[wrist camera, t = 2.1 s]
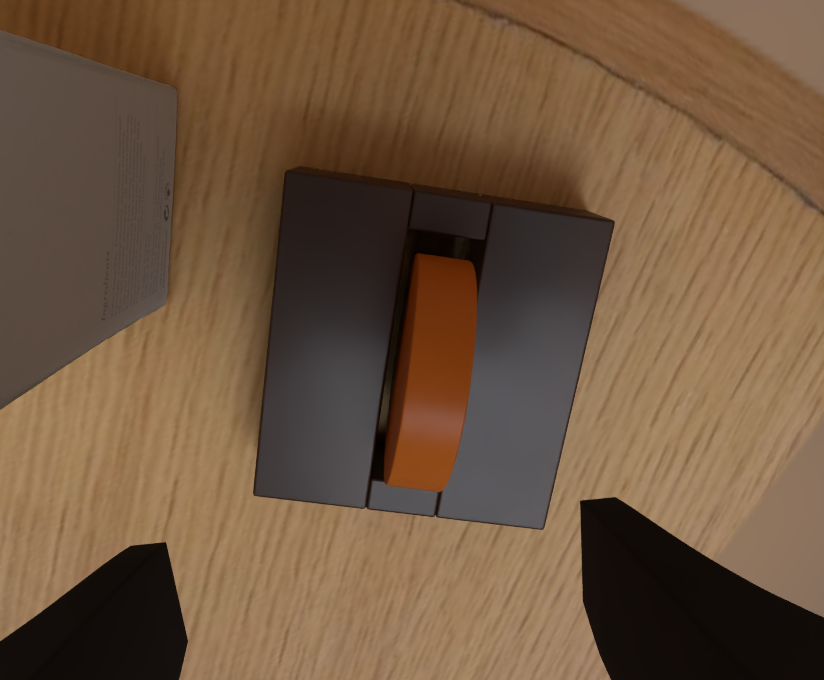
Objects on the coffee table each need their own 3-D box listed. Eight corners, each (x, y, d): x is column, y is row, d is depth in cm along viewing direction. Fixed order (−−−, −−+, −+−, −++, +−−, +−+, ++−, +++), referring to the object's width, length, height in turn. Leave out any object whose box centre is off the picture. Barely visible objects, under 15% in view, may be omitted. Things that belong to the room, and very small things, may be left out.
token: (460, 244, 20) (490, 287, 14) (428, 433, 22) (443, 539, 16) (413, 237, 20) (423, 278, 14) (384, 427, 22) (382, 532, 16)
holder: (588, 210, 20) (616, 220, 18) (527, 488, 22) (544, 531, 20) (297, 165, 19) (284, 169, 17) (267, 457, 22) (252, 496, 19)
